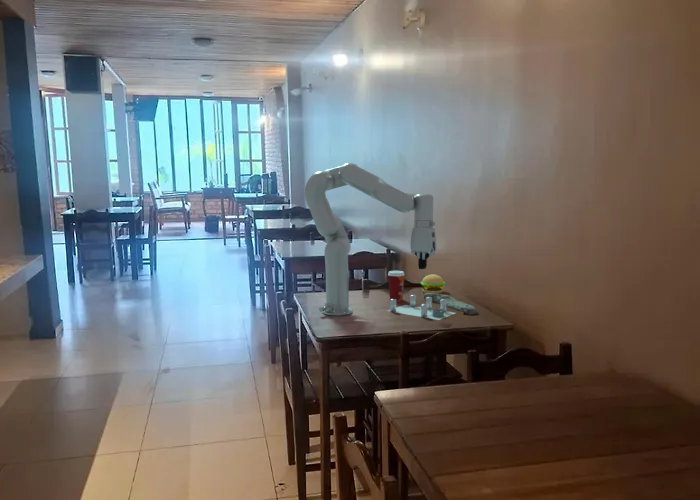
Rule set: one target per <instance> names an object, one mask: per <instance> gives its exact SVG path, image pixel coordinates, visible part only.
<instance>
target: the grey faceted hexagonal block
mask: <svg viewBox="0 0 700 500" xmlns="http://www.w3.org/2000/svg"><path fill="white" fill-rule="evenodd" d="M432 316H433V317H443V316H444V310H443V309H440V308H432Z"/></svg>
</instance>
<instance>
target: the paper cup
mask: <svg viewBox="0 0 700 500" xmlns="http://www.w3.org/2000/svg"><path fill="white" fill-rule="evenodd" d="M405 275H406V274H405V272H404V271H402V270H390V271H388V274H387V276H388V289H389V300H390V299H396V302H403V299H404V298H403V297H404V285H405V284H404V283H405Z"/></svg>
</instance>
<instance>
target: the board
mask: <svg viewBox="0 0 700 500" xmlns="http://www.w3.org/2000/svg"><path fill="white" fill-rule="evenodd" d="M387 312H390V309H387ZM395 313H396V314H402V315H409V316H412V317H419V318H422V317H421V306H416V307H410V304H404V305H400V306H396V312H395ZM455 314H456V312H453V311H447V310H446V312H444V316H443V317H433V316H432V310H427V317H423V318H425V319H431V320H436V321H440V320H443V319H445V318H448V317H451V316H453V315H455Z"/></svg>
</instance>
